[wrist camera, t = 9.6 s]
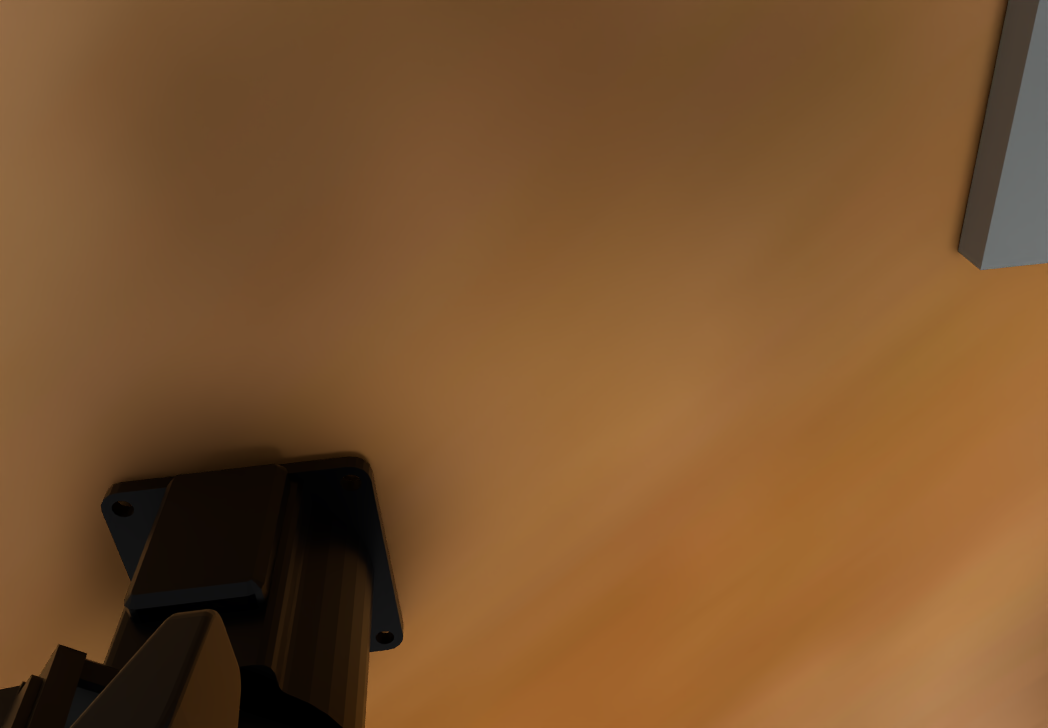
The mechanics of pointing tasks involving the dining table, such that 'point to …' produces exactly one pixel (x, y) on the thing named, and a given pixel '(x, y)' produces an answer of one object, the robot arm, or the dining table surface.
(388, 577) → the robot arm
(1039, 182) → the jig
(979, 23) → the dining table surface
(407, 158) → the dining table surface
